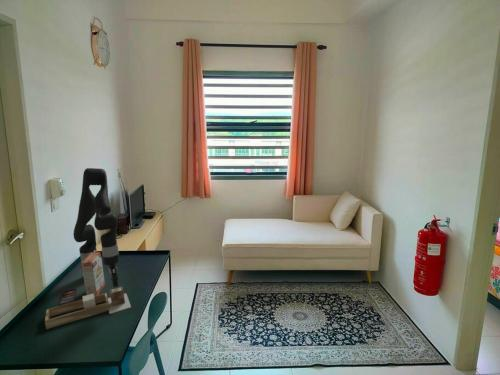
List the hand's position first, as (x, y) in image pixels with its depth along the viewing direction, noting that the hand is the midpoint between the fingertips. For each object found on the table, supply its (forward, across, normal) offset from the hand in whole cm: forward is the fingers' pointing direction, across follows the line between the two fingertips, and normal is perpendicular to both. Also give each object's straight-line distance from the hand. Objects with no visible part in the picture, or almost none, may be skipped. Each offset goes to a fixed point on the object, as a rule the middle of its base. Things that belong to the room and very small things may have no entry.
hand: (114, 283), depth 158 cm
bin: (+12, +2, +18) cm, 21 cm away
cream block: (+12, +2, +13) cm, 17 cm away
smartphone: (+13, +24, +23) cm, 35 cm away
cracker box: (+12, +21, +9) cm, 26 cm away
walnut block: (+11, 0, 0) cm, 11 cm away
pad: (+12, 0, 0) cm, 12 cm away
